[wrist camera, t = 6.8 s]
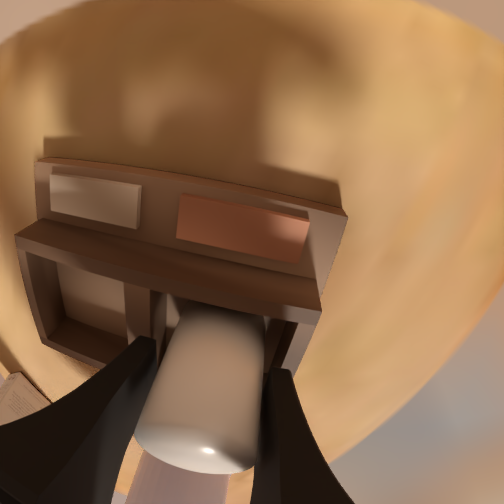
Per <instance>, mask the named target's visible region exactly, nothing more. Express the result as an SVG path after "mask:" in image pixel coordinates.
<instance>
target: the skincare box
mask: <svg viewBox="0 0 504 504" xmlns="http://www.w3.org/2000/svg"><path fill="white" fill-rule="evenodd" d="M50 404H51V403H50V402H49V401H48V400H47V399H46V398H45V397H44V396H43V395H42V394H41V393H40V392H39V391H38V390H37V389H36V388H35V387H34V386H33V385H32V384H31V383H30V382H29V381H28V380H27V379H26V378H25V377H24V376H23V375H22V374H21V373H20V372H17V373H13V374H10V375H8V377H7V378H6V380H5V381H4V383H3V384H2V386H1V387H0V425H3V424H7V423H10V422H13V421H15V420H18V419H20V418H23V417H25V416H27V415H30V414H32V413H34V412H37V411H39V410H41V409H43V408H44V407H46V406H48V405H50Z"/></svg>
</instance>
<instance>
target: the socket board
mask: <svg viewBox="0 0 504 504" xmlns="http://www.w3.org/2000/svg"><path fill="white" fill-rule="evenodd" d="M35 190H36V207H37V219H38V221H36V222H35V223H33V224H31V225H30V226H28V227H26V228H25V229H23V230H22V231H20V232H18V233H17V234H15V241H16V247H17V253H18V258H19V263H20V268H21V273H22V277H23V281H24V285H25V290H26V293H27V297H28V301H29V304H30V308H31V311H32V315H33V318H34V321H35V324H36V327H37V330H38V333H39V336H40V339H41V342H42V344H44V345H46V346H48V347H50V348H53V349H55V350H57V351H59V352H61V353H63V354H65V355H68V356H70V357H72V358H74V359H77V360H79V361H81V362H84V363H86V364H89V365H91V366H93V367H96V368H98V369H102V368H103V367H105V366H106V365H107V364H108V363H109V362H111V361H112V360H113V359H114V358H115V357H116V356H117V355H118V354H120V353H121V352H122V351H123V350H124V349H125V348H126V347H127V346H128V345H129V344H130V343H131V342H133V341H134V340H135V339H136V338H137V337H138V336H140V335H142V336H145V337H149V338H152V339H155V340H156V350H157V372H158V369H159V367H160V364H161V362H162V359H163V357H164V355H165V352H166V350H167V347H168V345H169V342H170V340H171V338H172V335H173V333H174V331H175V328H176V326H177V323H178V321H179V319H180V316H181V314H182V312H183V310H184V307H185V306H186V304H187V303H188V302H189V301H190V300H194V301H198V302H202V303H207V304H211V305H215V306H220V307H224V308H229V309H233V310H238V311H242V312H247V313H252V314H256V315H261V316H263V317H264V320H265V324H266V333H265V351H264V369H263V385H262V391H263V389H264V386H265V383H266V381H267V378H268V376H269V373H270V370H271V368H272V367H278V368H284V369H289V370H290V371H291V373H292V378H293V377H294V375H295V373H296V371H297V368H298V366H299V364H300V362H301V360H302V357H303V355H304V353H305V351H306V349H307V346H308V344H309V342H310V339H311V337H312V335H313V332H314V330H315V328H316V325H317V323H318V320H319V318H320V316H321V313H322V308H321V303H320V297H321V295H322V292H323V289H324V287H325V284H326V281H327V279H328V276H329V273H330V270H331V267H332V265H333V262H334V259H335V256H336V253H337V250H338V247H339V244H340V241H341V238H342V235H343V232H344V229H345V226H346V223H347V220H348V216H347V215H346V213H345V212H344V210H343V209H342V208H338V207H334V206H330V205H326V204H322V203H318V202H314V201H310V200H306V199H301V198H297V197H293V196H289V195H284V194H280V193H275V192H271V191H266V190H262V189H257V188H252V187H247V186H242V185H238V184H233V183H227V182H222V181H217V180H212V179H206V178H201V177H195V176H190V175H184V174H178V173H172V172H166V171H159V170H153V169H146V168H139V167H132V166H125V165H117V164H110V163H101V162H93V161H84V160H75V159H64V158H53V157H48V158H44V159H41V160H38V161H35Z"/></svg>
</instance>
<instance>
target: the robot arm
mask: <svg viewBox="0 0 504 504" xmlns="http://www.w3.org/2000/svg"><path fill="white" fill-rule="evenodd" d="M156 374H157V350H156V340H155V339H152V338H149V337H145V336H142V335H140V336H138V337H137V338H136V339H135V340H134V341H133V342H131V343H130V344H129V345H128V346H127V347H126V348H125V349H124V350H123V351H122V352H121V353H120V354H118V355H117V356H116V357H115V358H114V359H113V360H112V361H111V362H109V363H108V364H107V365H106V366H105V367H103V368H102V369H101V370H100V371H99V372H97V373H96V374H95V375H94V376H92V377H91V378H90V379H88V380H87V381H86V382H84V383H83V384H82V385H80V386H79V387H77V388H76V389H75V390H73V391H72V392H70V393H69V394H67V395H65V396H64V397H62V398H61V399H59V400H57V401H56V402H54V403H52V404H50V405H48V406H46V407H44V408H43V409H41V410H39V411H37V412H34V413H32V414H30V415H27V416H25V417H23V418H20V419H18V420H15V421H13V422H10V423H7V424H3V425H0V504H111V501H112V497H113V493H114V489H115V485H116V481H117V478H118V474H119V471H120V467H121V464H122V461H123V458H124V455H125V452H126V449H127V447H128V444H129V442H130V440H131V438H132V435H133V433H134V431H135V428H136V426H137V423H138V420H139V418H140V415H141V412H142V410H143V407H144V405H145V402H146V399H147V397H148V394H149V392H150V389H151V387H152V384H153V382H154V379H155V377H156ZM230 476H231V474H208V473H200V472H194V471H190V470H186V469H182V468H179V467H176V466H173V465H171V464H168V463H166V462H164V461H162V460H160V459H158V458H156V457H154V456H153V455H151V454H150V453H148V452H147V451H146V450H145V449H144V450H143V453H142V456H141V458H140V461H139V464H138V467H137V470H136V473H135V476H134V479H133V481H132V484H131V487H130V490H129V493H128V496H127V499H126V502H125V504H225V503H226V497H227V490H228V484H229V478H230ZM250 504H355V503H354V502H353V501H352V499H351V498H350V497H349V496H348V494H347V493H346V492H345V490H344V489H343V487H342V486H341V485H340V483H339V482H338V480H337V479H336V477H335V476H334V474H333V473H332V471H331V469H330V468H329V466H328V464H327V462H326V461H325V459H324V457H323V455H322V453H321V451H320V449H319V447H318V445H317V443H316V441H315V439H314V437H313V435H312V432H311V430H310V428H309V425H308V423H307V420H306V417H305V415H304V412H303V410H302V407H301V404H300V401H299V398H298V395H297V392H296V389H295V385H294V381H293V378H292V373H291V371H290V370H289V369H284V368H278V367H272V368H271V370H270V373H269V376H268V378H267V381H266V383H265V386H264V389H263V391H262V401H261V416H260V431H259V445H258V459H257V462H256V464H255V465H254V480H253V488H252V494H251V501H250Z"/></svg>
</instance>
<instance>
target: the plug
mask: <svg viewBox="0 0 504 504" xmlns="http://www.w3.org/2000/svg"><path fill="white" fill-rule="evenodd" d="M265 333H266V324H265V320H264V317H263V316H261V315H256V314H252V313H247V312H242V311H238V310H233V309H229V308H224V307H220V306H215V305H211V304H207V303H202V302H198V301H194V300H190V301H189V302H188V303H187V304H186V306H185V307H184V310H183V312H182V314H181V316H180V319H179V321H178V323H177V326H176V328H175V331H174V333H173V335H172V338H171V340H170V342H169V345H168V347H167V350H166V352H165V355H164V357H163V359H162V362H161V364H160V367H159V369H158V372H157V374H156V377H155V379H154V382H153V384H152V387H151V389H150V392H149V394H148V397H147V399H146V402H145V405H144V407H143V410H142V412H141V415H140V418H139V420H138V423H137V426H136V428H135V431H134V436H135V439H136V441H137V442H138V443H139V445H140V446H141V447H142V448H143V449H145V450H146V451H147V452H148V453H150V454H151V455H153V456H154V457H156V458H158V459H160V460H162V461H164V462H166V463H168V464H171V465H173V466H176V467H179V468H182V469H186V470H190V471H194V472H200V473H208V474H232V473H238V472H242V471H245V470H248V469H250V468H251V467H253V466H254V465H255V464H256V462H257V459H258V445H259V431H260V416H261V401H262V385H263V369H264V351H265Z"/></svg>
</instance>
